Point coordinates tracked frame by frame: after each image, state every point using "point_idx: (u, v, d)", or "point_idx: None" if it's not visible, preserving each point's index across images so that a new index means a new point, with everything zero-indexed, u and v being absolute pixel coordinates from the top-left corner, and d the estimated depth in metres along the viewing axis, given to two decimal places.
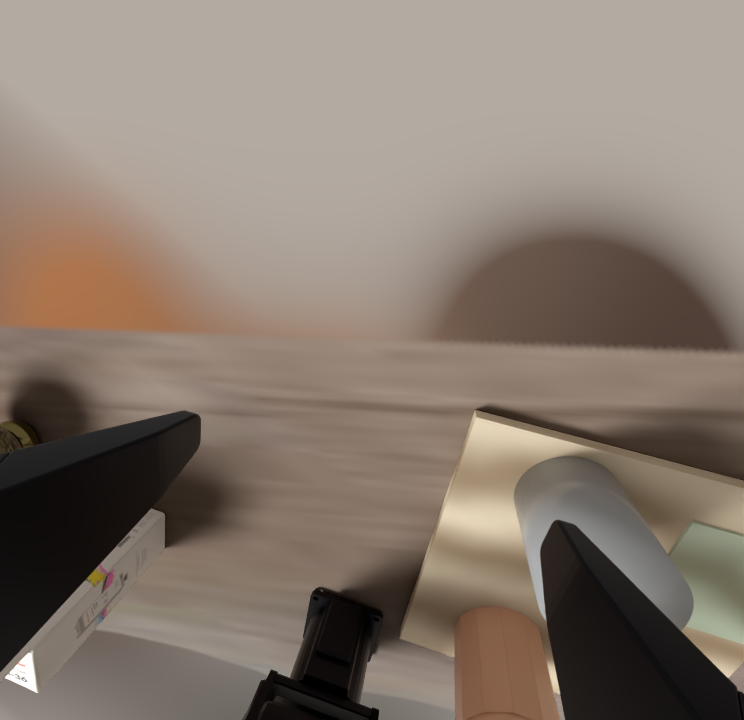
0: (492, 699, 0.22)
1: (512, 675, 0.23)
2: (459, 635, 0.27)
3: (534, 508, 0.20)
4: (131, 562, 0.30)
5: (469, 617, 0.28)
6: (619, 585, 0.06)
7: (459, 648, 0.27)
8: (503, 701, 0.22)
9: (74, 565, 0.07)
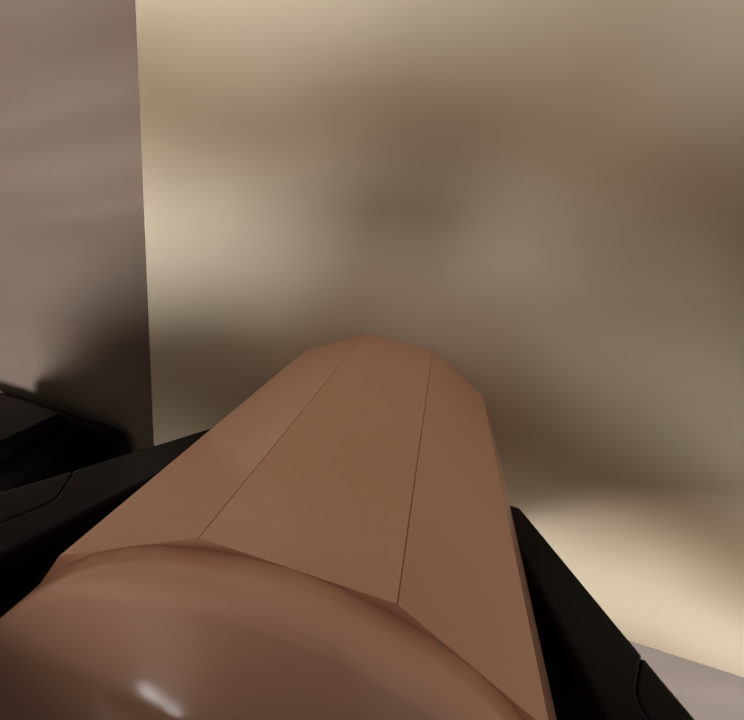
0: (148, 504, 0.04)
1: (311, 427, 0.05)
2: None
3: None
4: None
5: None
6: (547, 563, 0.06)
7: None
8: (191, 501, 0.04)
9: None
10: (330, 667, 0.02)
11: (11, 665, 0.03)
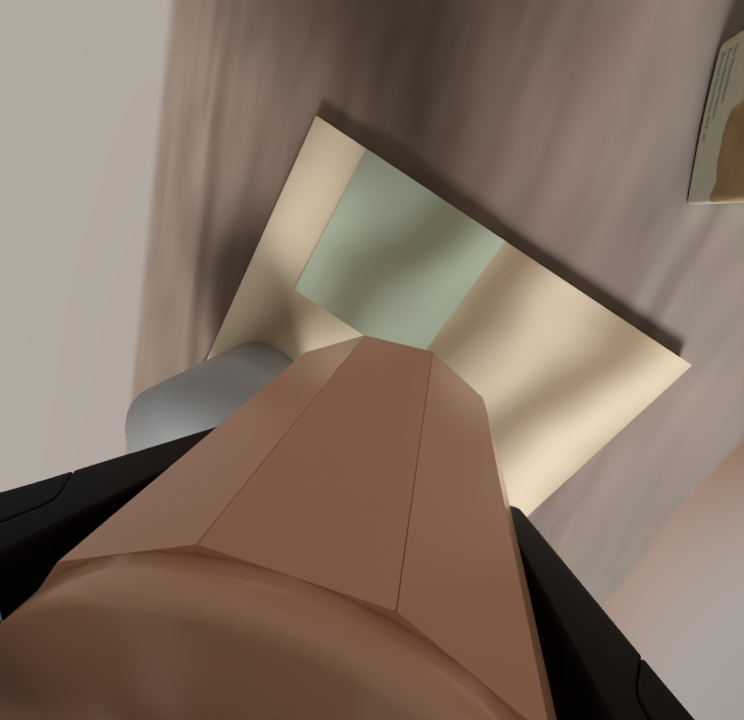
0: (146, 510, 0.04)
1: (310, 431, 0.05)
2: None
3: None
4: None
5: None
6: (547, 563, 0.06)
7: None
8: (190, 507, 0.04)
9: None
10: (328, 675, 0.02)
11: (9, 672, 0.03)
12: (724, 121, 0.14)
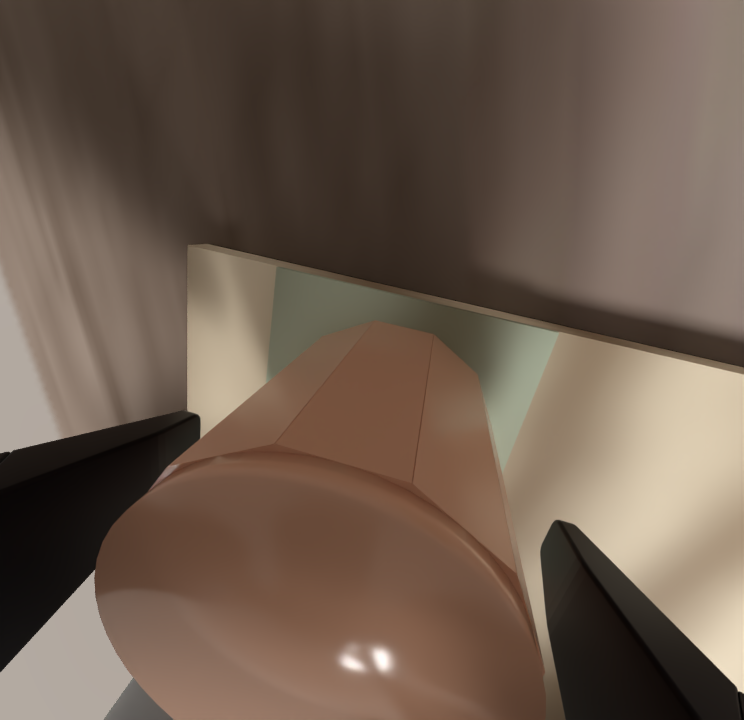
0: (225, 435, 0.05)
1: (340, 385, 0.06)
2: None
3: None
4: None
5: None
6: (619, 585, 0.06)
7: None
8: (260, 429, 0.05)
9: (74, 565, 0.07)
10: (370, 512, 0.04)
11: (136, 542, 0.05)
12: None
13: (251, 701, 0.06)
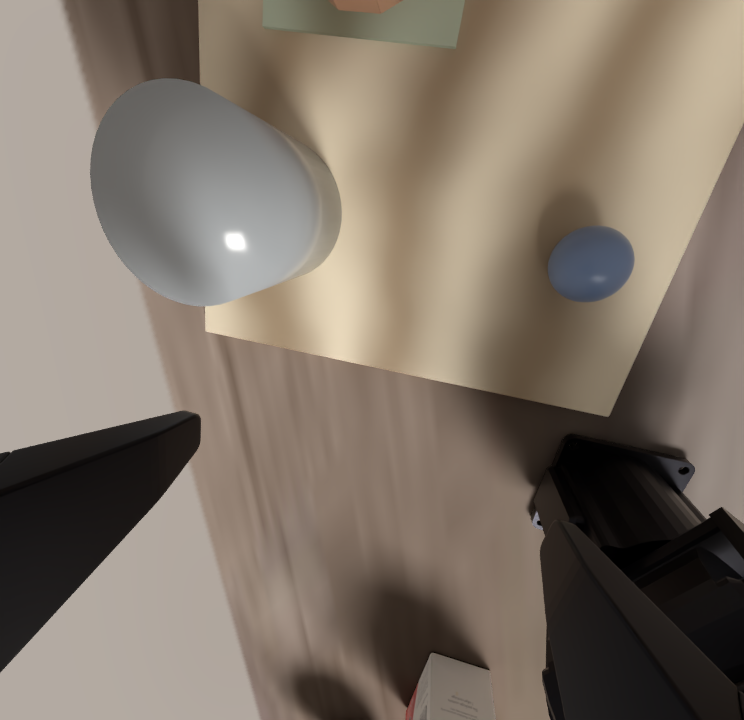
0: None
1: None
2: None
3: None
4: None
5: None
6: (619, 585, 0.06)
7: None
8: None
9: (74, 565, 0.07)
10: None
11: None
12: None
13: None
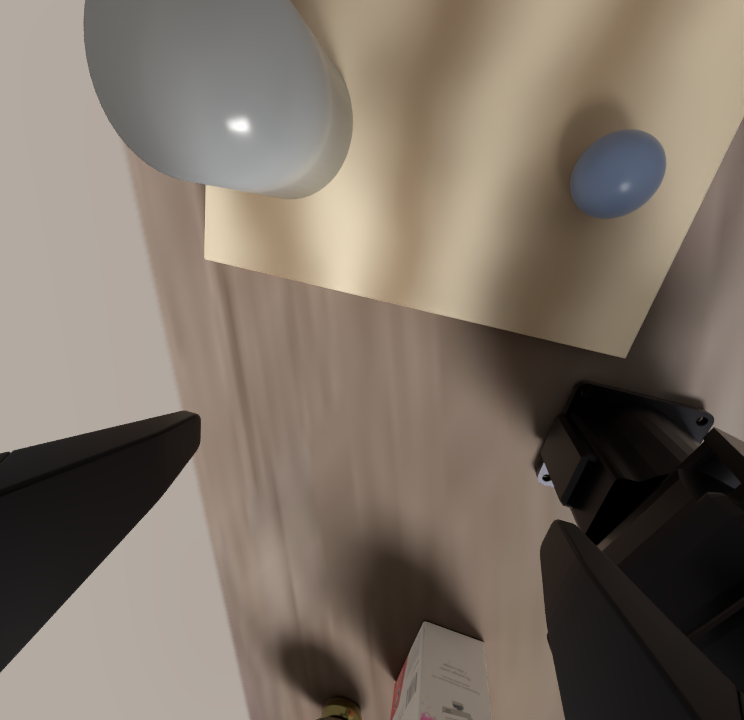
0: None
1: None
2: None
3: None
4: (443, 688, 0.23)
5: None
6: (619, 585, 0.06)
7: None
8: None
9: (74, 565, 0.07)
10: None
11: None
12: None
13: None
